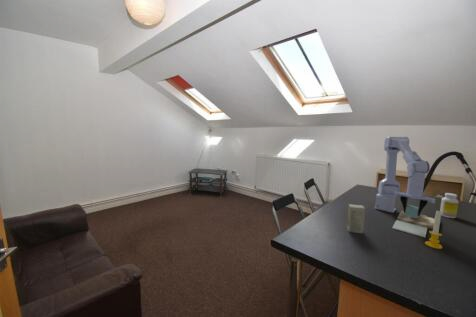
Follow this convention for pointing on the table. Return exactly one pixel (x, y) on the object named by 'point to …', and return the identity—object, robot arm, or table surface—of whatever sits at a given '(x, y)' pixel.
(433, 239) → the candle
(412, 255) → the table surface
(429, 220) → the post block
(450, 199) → the supplement bottle
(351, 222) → the skincare box
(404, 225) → the coaster
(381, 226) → the table surface
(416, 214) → the teal cube
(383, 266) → the table surface
